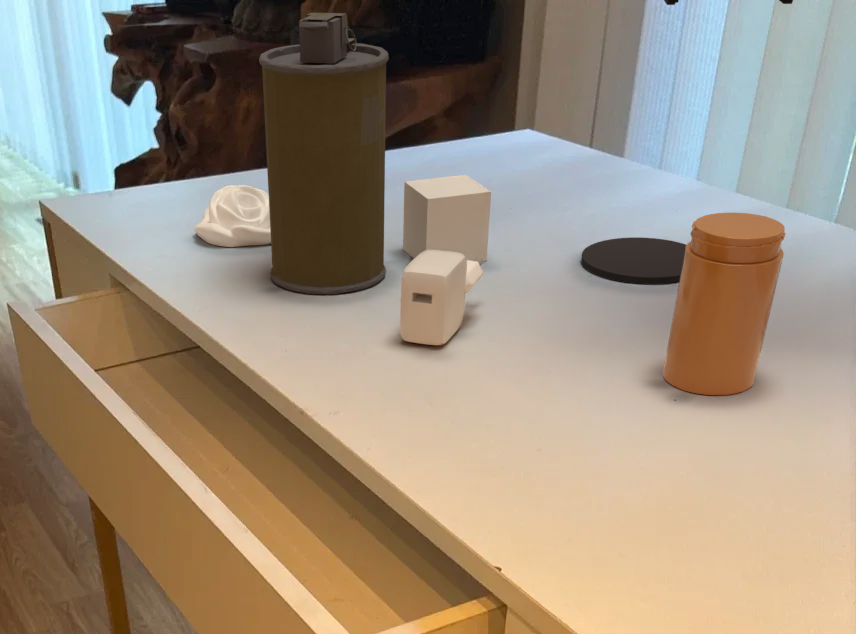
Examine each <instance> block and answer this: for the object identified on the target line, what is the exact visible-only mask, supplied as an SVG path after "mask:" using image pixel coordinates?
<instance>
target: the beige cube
mask: <svg viewBox="0 0 856 634" xmlns="http://www.w3.org/2000/svg"><path fill="white" fill-rule="evenodd" d="M403 187H404V188H403V226H402V227H403V228H402V229H403V230H402V231H403V233H402V251H404V252H405V253H406V254H408V255H409V256H410V257H411V258H412V260H413V259H414V258H416V257H417V256H418V255H419V254H420V253H422V252H423V251H425V250H442V251H451V252H457V253H462V254H464V256H465V257H466V260H470V261H474V260H475V259H476V258H478V257H481V258H482V259H483V262H487V259H488V243H489V230H490V215H491V201H492V200H491V199H492V191H491V190H490V189H488V188H486V187H485V186H483V185H482V184H480V183H479V182H478V181H476V180H474V179H473V178H472V177H470V176H468V175H467V174H459V175H450V176H442V177H441V176H440V177H432V178H424V179H414V180H406V181H404V186H403Z"/></svg>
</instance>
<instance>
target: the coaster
mask: <svg viewBox="0 0 856 634" xmlns="http://www.w3.org/2000/svg"><path fill="white" fill-rule="evenodd" d="M686 245H687V244H686V243H683V242H680V241H675V240H670V239H663V238H655V237H639V236H638V237H635V236H634V237H620V238H619V237H617V238H610V239H605V240H600V241H597V242H594V243H592V244H590V245H588V246H587V247H585V248H584V249H583V250H582V252H581V258H580V263H581V266H583V269H585V270H586V271H588V272H590V273H592V274H593V275H595V276H598V277H600V278H604V279H607V280H612V281H615V282H622V283H629V284H639V285H660V284H661V285H663V284H664V285H665V284H675V283H679V280H680V275H681V269H682V263H683V258H684V252H685V247H686Z"/></svg>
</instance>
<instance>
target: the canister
mask: <svg viewBox="0 0 856 634" xmlns="http://www.w3.org/2000/svg"><path fill="white" fill-rule="evenodd" d="M348 23H349V22H348V13H346V12H344V13H343V12H342V13H341V12H308V13H307V14H305V17H304V18H301V19H300V20H299V21H298V26H299V27H298V30H299V31H298V32H299V33H298V34H299V44H291V45H284V46H283V45H282V46H279V47H274V48H271V49H268V50H266V51H264V52H262V53H260V55H259V58H258V63H259V65H260V66H261V71H262V89H263V91H262V92H263V108H264V109H263V111H264V130H265V149H266V151H265V152H266V171H267V188H268V189H267V190H268V191H267V193H268V195H269V212H270V231H271V243H270V248H271V249H270V250H271V268H270V273H269V277H270V278H271V280H272V281H273V282H274V284H276V285H278V287H279V286H280V287H281V288H283V289H286V290H288V291H293V292H298V293H301V294H307V295H338V294H345V293H351V292H357V291H362V290H365V289H368V288H370V287H372V286H374V285H376V284H378V283H380V282H381V281H382V280H383V279H384V278H385V276H386V273H387V270H386V266H385V193H386V191H385V190H386V188H385V187H386V185H385V184H386V183H385V182H386V117H387V115H386V110H387V108H386V107H387V106H386V105H387V104H386V103H387V63H388V61H389V59H390V56H389V53H388V51H387V50H385V48H383V47H381V46H376V45H372V44H366V43H358V39H357V38H356V35H355V33H354V31H353V29H350V27H349V26H348ZM349 33H350V35H351V37H350V38H349Z"/></svg>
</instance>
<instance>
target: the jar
mask: <svg viewBox="0 0 856 634" xmlns="http://www.w3.org/2000/svg"><path fill="white" fill-rule="evenodd" d="M691 228H692V230H691V231H690V237H691V240H690V241H689V242H688V243H687V244H686V247H685V252H684V258H683V263H682V269H681V275H680V280H679V282H678V287H677V291H676V297H675V303H674V308H673V313H672V320H671V326H670V330H669V336H668V340H667V341H668V342H667V346H666V347H667V348H666V352H665V358H664V364H663V369H662V376H663V379H664V380H665V381H666V382H667V383H668V384H670V385H671V386H673V387H674V388H677V389H679V390H681V391H685V392H689V393H693V394H697V395H704V396H705V395H706V396H729V395H730V396H731V395H734V394H739V393H742V392H745V391H747V390H749V389H750V388H752V387H753V384H754V382H755V378H756V374H757V370H758V365H759V360H760V358H761V352H762V350H763V349H762V348H763V344H764V339H765V336H766V331H767V328H768V323H769V319H770V314H771V310H772V306H773V302H774V297H775V293H776V289H777V285H778V280H779V276H780V272H781V267H782V263H783V259H784V253H785V252H784V250H783V248H781V247H782V243H783V241H784V240H785V237H786V234H787V233H786V232H785V229H786V228H785V225H784V224H783V223H782V222H780V221H778V220H777V219H775V218H772V217H768V216H764V215H760V214H756V213H747V212H717V213H710V214H706V215H702V216H700V217H698V218H697V219H696V220H694V221H693V222H692V224H691Z"/></svg>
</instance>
